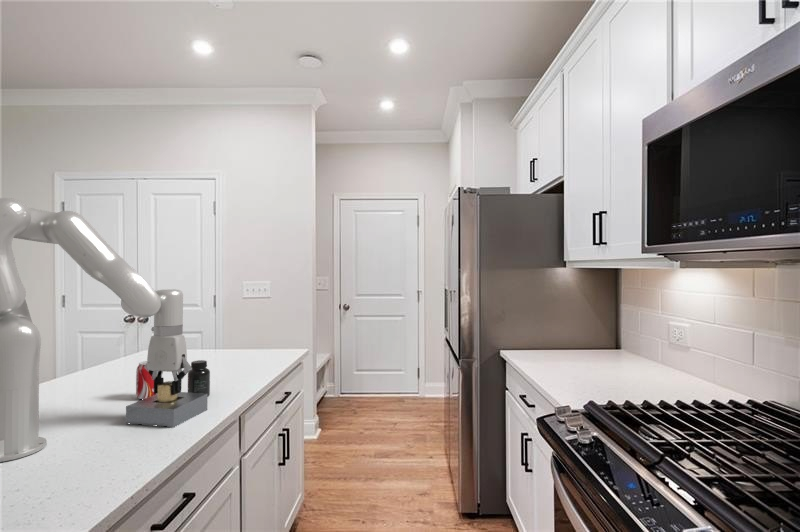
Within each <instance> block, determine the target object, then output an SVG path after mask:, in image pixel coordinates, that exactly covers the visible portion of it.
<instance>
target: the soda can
mask: <svg viewBox="0 0 800 532" xmlns="http://www.w3.org/2000/svg"><path fill="white" fill-rule="evenodd" d="M146 363H147V360H144V361H140V362H138V366H137V367H136V372H135V373H136V375H135V376H136V377H135V379H136V380H135V382H136V383H135V393H136V398H137V399H139V400H140V399H146V398H148V397H151V396H153V395H156V394H157V393H156V394H154V380H152V376H151V375H150V374H149V372H148V371H147V370H146V369H145V368H144V366H145V365H146Z"/></svg>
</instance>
